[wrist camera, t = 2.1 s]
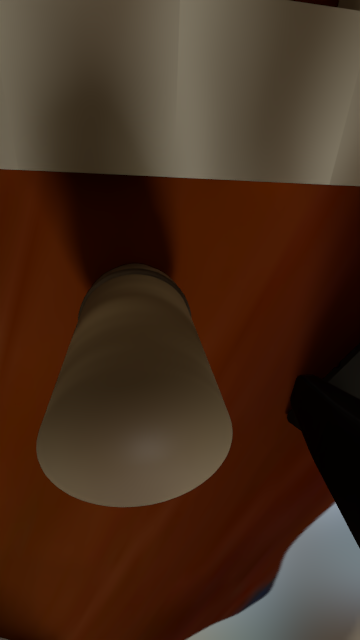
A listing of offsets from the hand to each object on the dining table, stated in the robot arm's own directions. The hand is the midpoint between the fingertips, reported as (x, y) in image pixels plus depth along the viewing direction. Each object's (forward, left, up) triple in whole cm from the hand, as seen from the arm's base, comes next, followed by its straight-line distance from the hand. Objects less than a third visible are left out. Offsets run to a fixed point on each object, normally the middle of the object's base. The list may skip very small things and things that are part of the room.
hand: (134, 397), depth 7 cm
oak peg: (0, 0, -6) cm, 6 cm away
